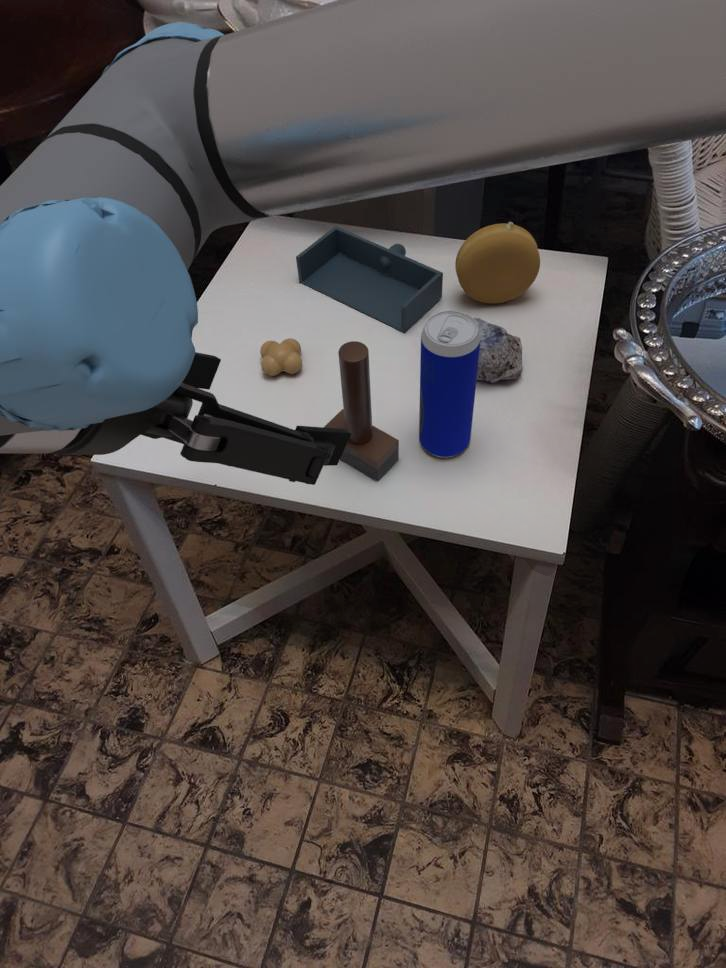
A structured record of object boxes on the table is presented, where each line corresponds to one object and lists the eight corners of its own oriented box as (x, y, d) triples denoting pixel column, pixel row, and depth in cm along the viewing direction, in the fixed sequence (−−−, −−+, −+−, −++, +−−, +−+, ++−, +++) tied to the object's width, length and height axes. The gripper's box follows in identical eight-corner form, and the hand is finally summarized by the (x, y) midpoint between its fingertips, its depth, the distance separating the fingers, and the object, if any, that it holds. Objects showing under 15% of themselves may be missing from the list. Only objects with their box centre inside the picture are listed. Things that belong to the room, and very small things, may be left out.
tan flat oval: (530, 284, 92) (542, 210, 84) (536, 305, 90) (549, 231, 82) (452, 291, 92) (456, 218, 84) (456, 311, 90) (461, 238, 82)
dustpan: (404, 333, 88) (404, 307, 85) (299, 282, 94) (295, 256, 92) (456, 284, 93) (457, 259, 90) (352, 239, 99) (350, 213, 96)
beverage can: (433, 415, 80) (437, 301, 68) (478, 433, 79) (491, 318, 67) (409, 449, 78) (410, 336, 66) (456, 468, 76) (465, 356, 64)
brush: (399, 459, 77) (398, 356, 66) (377, 481, 75) (373, 379, 64) (344, 428, 80) (334, 324, 69) (322, 449, 78) (309, 346, 67)
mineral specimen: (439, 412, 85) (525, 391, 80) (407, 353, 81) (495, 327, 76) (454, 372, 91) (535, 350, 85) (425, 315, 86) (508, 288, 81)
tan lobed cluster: (316, 360, 86) (314, 344, 84) (284, 389, 84) (281, 373, 82) (280, 341, 88) (278, 325, 86) (248, 368, 86) (244, 352, 84)
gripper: (-93, 356, 48) (149, 385, 67) (188, 561, 38) (380, 527, 57) (-60, 240, 46) (180, 304, 65) (244, 423, 36) (423, 435, 55)
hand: (273, 408), depth 61 cm, fingers open, 13 cm apart
